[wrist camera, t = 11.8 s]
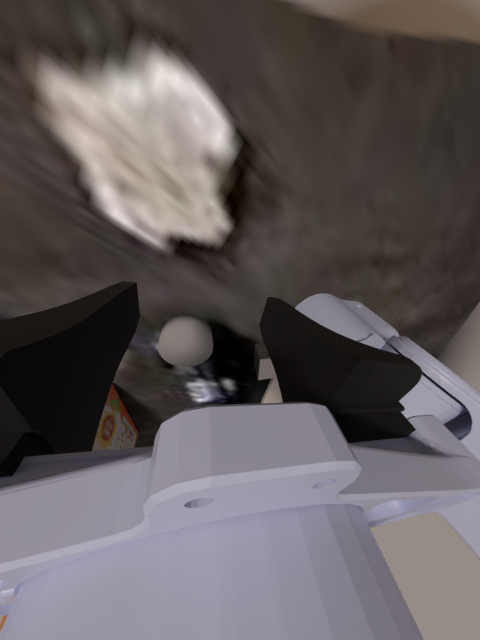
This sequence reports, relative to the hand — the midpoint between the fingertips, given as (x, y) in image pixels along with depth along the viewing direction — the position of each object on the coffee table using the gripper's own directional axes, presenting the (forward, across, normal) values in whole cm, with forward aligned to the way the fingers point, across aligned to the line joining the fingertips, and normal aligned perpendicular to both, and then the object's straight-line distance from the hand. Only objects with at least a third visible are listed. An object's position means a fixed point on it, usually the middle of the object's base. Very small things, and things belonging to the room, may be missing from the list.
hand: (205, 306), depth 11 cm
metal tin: (+10, -11, +12) cm, 19 cm away
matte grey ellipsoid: (+10, +1, +10) cm, 14 cm away
